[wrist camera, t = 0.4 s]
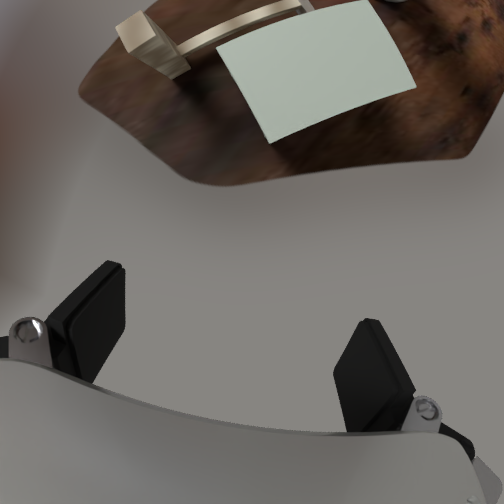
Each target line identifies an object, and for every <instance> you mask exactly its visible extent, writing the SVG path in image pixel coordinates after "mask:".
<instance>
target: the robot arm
mask: <svg viewBox="0 0 504 504" xmlns="http://www.w3.org/2000/svg"><path fill="white" fill-rule="evenodd" d="M385 1H389V2H404V1H407V0H385ZM124 329H125V269H124V268H122V265H121V264H120V263H116V262H113V261H109V260H107V261H105V262H104V263H103V264H102V265H101V266H100V267H99V268H98V269H97V270H95V271H94V272H93V273H92V274H91V275H90V276H89V277H88V278H87V279H86V280H85V281H83V282H82V283H81V284H80V285H79V286H78V287H77V288H76V289H75V290H74V291H73V292H72V293H71V294H70V295H69V296H68V297H67V298H66V299H65V300H64V301H63V302H62V303H61V304H60V305H59V306H58V307H57V308H56V309H55V310H54V311H53V312H52V313H51V314H50V315H49V316H48V318H47V319H46V320H45V321H44V322H43V321H42V320H40V319H38V318H35V317H25V318H21V319H19V320H17V321H16V322H15V323H14V324H12V326H11V328H10V330H9V336H4V337H0V504H496V503H497V501H498V499H499V497H500V494H501V492H502V483H501V481H500V479H499V478H498V477H497V476H496V475H495V474H494V473H493V472H492V471H491V470H490V468H489V467H487V466H486V465H485V463H484V462H483V461H482V460H481V459H480V458H479V457H478V456H477V457H476V458H474V457H475V450H474V447H473V444H472V442H471V441H470V440H469V439H467V438H466V437H464V436H462V435H461V434H459V433H458V432H456V431H455V430H453V429H451V428H450V427H448V426H447V425H445V424H443V423H442V422H441V419H442V411H441V409H440V407H439V405H438V404H437V403H436V402H435V401H434V400H433V399H431V398H429V397H427V396H417V397H415V398H414V397H413V394H414V392H415V391H416V389H415V387H414V385H413V383H412V381H411V379H410V377H409V375H408V373H407V371H406V369H405V367H404V365H403V364H402V361H401V360H400V358H399V356H398V354H397V352H396V350H395V348H394V346H393V345H392V343H391V341H390V339H389V337H388V335H387V334H386V332H385V330H384V328H383V326H382V325H381V323H380V321H379V320H375V319H369V318H365V319H364V320H363V321H360V322H359V324H358V325H357V327H356V329H355V331H354V333H353V335H352V337H351V339H350V341H349V343H348V345H347V346H346V348H345V350H344V352H343V354H342V356H341V357H340V359H339V361H338V363H337V364H336V366H335V368H334V372H333V376H334V380H335V384H336V388H337V392H338V396H339V400H340V404H341V408H342V413H343V417H344V421H345V426H346V430H347V432H310V431H295V430H294V431H293V430H283V429H273V428H263V427H256V426H249V425H242V424H235V423H230V422H224V421H218V420H214V419H208V418H204V417H199V416H195V415H190V414H186V413H182V412H178V411H174V410H170V409H166V408H162V407H159V406H156V405H152V404H149V403H146V402H142V401H139V400H136V399H133V398H130V397H127V396H124V395H121V394H118V393H115V392H112V391H110V390H107V389H104V388H102V387H99V386H96V385H94V384H92V383H93V382H94V380H95V378H96V376H97V374H98V373H99V371H100V370H101V368H102V366H103V364H104V363H105V361H106V359H107V358H108V356H109V354H110V353H111V351H112V350H113V348H114V346H115V345H116V343H117V341H118V339H119V338H120V337H121V335H122V333H123V332H124Z"/></svg>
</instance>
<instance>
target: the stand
mask: <svg viewBox="0 0 504 504" xmlns="http://www.w3.org/2000/svg"><path fill="white" fill-rule="evenodd" d="M216 49H217V51H218V53H219V55H220V56H221V58H222V59H223V61H224V63H225V65H226V66H227V68H228V70H229V72H230V74H231V76H232V78H233V80H234V81H235V82H236V83H237V85H238V87H239V89H240V91H241V92H242V94H243V96H244V98H245V99H246V101H247V103H248V105H249V107H250V109H251V110H252V112H253V114H254V116H255V118H256V120H257V122H258V123H259V125H260V127H261V129H262V131H263V133H264V137H265V138H266V139H267V141H268V143H269V144H270V143H272V142H274V141H277V140H279V139H281V138H283V137H285V136H288V135H290V134H292V133H294V132H297V131H299V130H301V129H303V128H306V127H308V126H310V125H313V124H315V123H318V122H320V121H323V120H325V119H327V118H330V117H332V116H335V115H337V114H340V113H343V112H345V111H348V110H350V109H353V108H356V107H359V106H361V105H364V104H367V103H370V102H372V101H375V100H378V99H381V98H384V97H387V96H390V95H393V94H396V93H399V92H403V91H406V90H409V89H412V88H416V85H415V82H414V80H413V78H412V76H411V74H410V72H409V70H408V68H407V66H406V64H405V62H404V60H403V58H402V56H401V54H400V52H399V50H398V48H397V47H396V45H395V43H394V41H393V40H392V38H391V36H390V34H389V33H388V31H387V29H386V28H385V26H384V25H383V23H382V21H381V20H380V18H379V17H378V15H377V14H376V12H375V11H374V9H373V8H372V6H371V5H370V3H369V2H368V0H361V1H355V2H350V3H345V4H340V5H336V6H331V7H327V8H323V9H319V10H315V11H311V12H308V13H304V14H301V15H298V16H294V17H291V18H288V19H285V20H282V21H279V22H276V23H274V24H271V25H268V26H265V27H263V28H260V29H257V30H255V31H252V32H250V33H248V34H245V35H243V36H240V37H238V38H236V39H234V40H231V41H229V42H227V43H225V44H223V45H221V46H219V47H216Z"/></svg>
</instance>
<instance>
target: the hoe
mask: <svg viewBox="0 0 504 504" xmlns="http://www.w3.org/2000/svg"><path fill="white" fill-rule="evenodd" d="M294 10H296V12H297V13H298V15H301V14H304V13H308V12H311V11H315V9H314V8H313V7H312V5H311V4H310V2H309V1H308V0H283V1H279V2H276V3H273V4H270V5H267V6H264V7H262V8H259V9H256V10H253V11H251V12H248V13H246V14H243V15H241V16H238V17H236V18H233V19H231V20H229V21H226V22H224V23H222V24H220V25H217V26H215V27H213V28H211V29H209V30H207V31H205V32H203V33H201V34H199V35H197V36H195V37H193V38H191V39H189V40H187V41H186V42H184V43H182V44H180V45H178V46H177V45H176V44H175V43H174V42H173V41H172V40H171V39H170V38H169V37H168V36H167V35H166V34H165V33H164V32H163V31H162V30H161V29H160V28H159V27H158V26H157V25H156V24H155V23H154V22H153V21H152V20H151V19H150V18H149V17H148V16H147V15H146V14H145V13H144V12H143V11H142V10H140V11H139V12H137V13H135V14H134V15H132V16H131V17H129V18H128V19H126V20H125V21H123V22H122V23H121V24H119V25H118V26H116V27H115V28H116V30H117V32H118V34H119V36H120V38H121V40H122V42H123V44H124V46H125V47H126V49H127V51H128V53H129V54H131V55H133V56H134V57H136V58H138V59H140V60H141V61H143V62H145V63H146V64H148V65H150V66H151V67H153V68H155V69H156V70H158V71H159V72H161V73H163V74H164V75H166V76H167V77H169V78H171V79H174V78H176V77H177V76H179V75H181V74H182V73H184V72H186V71H188V70H190V69H191V67H190V65H189V64H188V62H187V60H186V59H185V57H186V56H188V55H190V54H192V53H193V52H195V51H197V50H199V49H201V48H203V47H205V46H207V45H209V44H211V43H213V42H215V41H217V40H219V39H221V38H224V37H226V36H228V35H230V34H232V33H235V32H237V31H239V30H242V29H244V28H246V27H249V26H251V25H254V24H256V23H259V22H262V21H264V20H267V19H270V18H273V17H276V16H279V15H282V14H285V13H288V12H291V11H294Z"/></svg>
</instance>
